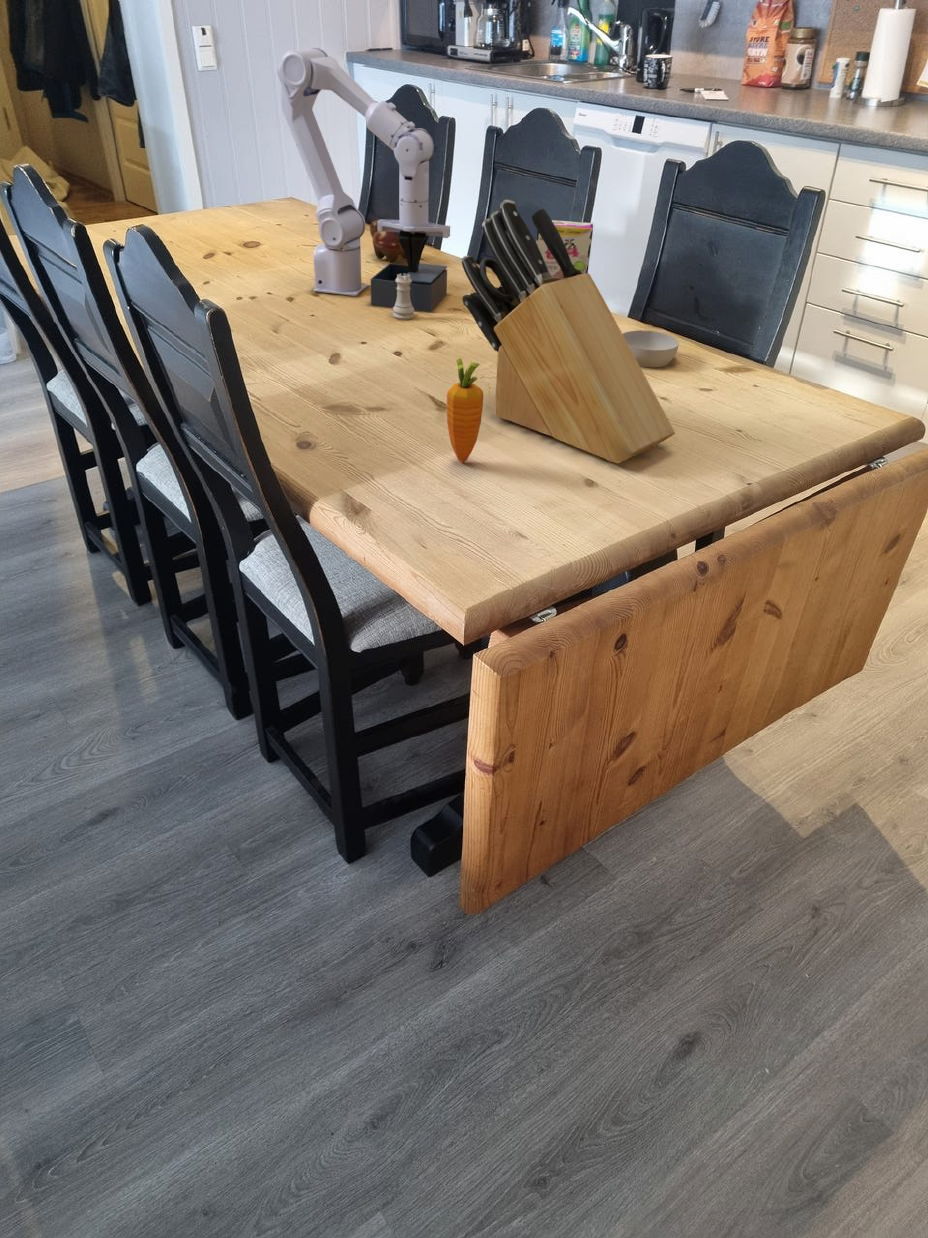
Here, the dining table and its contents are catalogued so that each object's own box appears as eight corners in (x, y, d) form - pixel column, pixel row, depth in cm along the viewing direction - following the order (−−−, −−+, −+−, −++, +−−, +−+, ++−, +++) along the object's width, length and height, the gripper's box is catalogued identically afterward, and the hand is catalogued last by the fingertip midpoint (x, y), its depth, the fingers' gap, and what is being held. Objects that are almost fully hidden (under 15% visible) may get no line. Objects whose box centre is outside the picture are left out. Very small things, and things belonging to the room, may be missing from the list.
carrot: (443, 455, 133) (446, 352, 125) (478, 455, 134) (483, 352, 125) (446, 470, 129) (449, 365, 121) (481, 470, 130) (487, 366, 121)
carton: (446, 295, 197) (447, 269, 194) (430, 312, 187) (431, 285, 184) (389, 288, 199) (389, 263, 196) (371, 305, 189) (370, 278, 186)
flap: (446, 267, 194) (446, 265, 194) (430, 283, 184) (430, 281, 184) (418, 264, 195) (418, 263, 195) (401, 280, 185) (401, 278, 185)
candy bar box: (530, 308, 192) (536, 223, 182) (531, 300, 196) (537, 218, 186) (584, 311, 191) (593, 227, 182) (584, 304, 195) (593, 221, 186)
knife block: (497, 383, 157) (509, 184, 139) (673, 450, 137) (713, 229, 119) (450, 400, 150) (456, 193, 132) (628, 473, 131) (664, 243, 113)
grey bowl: (667, 373, 164) (671, 352, 161) (570, 355, 169) (573, 334, 167) (682, 355, 172) (685, 334, 169) (589, 338, 178) (592, 318, 175)
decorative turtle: (381, 249, 225) (384, 214, 220) (431, 266, 218) (434, 230, 214) (355, 255, 218) (357, 219, 213) (405, 272, 211) (408, 235, 207)
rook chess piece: (418, 315, 185) (418, 273, 181) (409, 321, 182) (409, 279, 177) (397, 312, 186) (397, 270, 182) (388, 318, 183) (388, 276, 178)
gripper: (372, 200, 180) (373, 272, 188) (444, 206, 177) (442, 279, 185) (383, 193, 185) (384, 263, 193) (453, 199, 183) (451, 270, 191)
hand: (413, 271), depth 190 cm, fingers closed, pressing on flap
